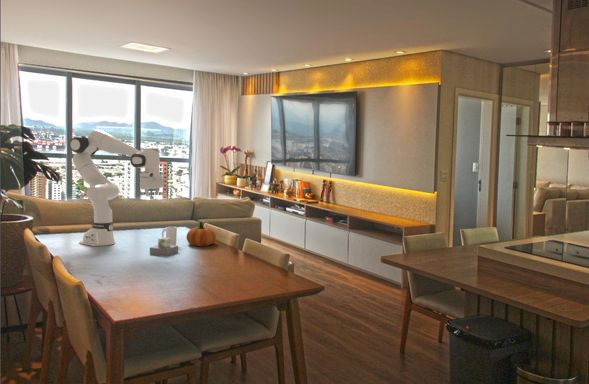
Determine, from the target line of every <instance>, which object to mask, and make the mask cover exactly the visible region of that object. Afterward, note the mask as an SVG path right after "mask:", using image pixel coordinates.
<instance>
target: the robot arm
mask: <svg viewBox="0 0 589 384" xmlns="http://www.w3.org/2000/svg"><path fill="white" fill-rule="evenodd" d="M69 148H70V150H71V152H74V153H75V154H74V155H73V157H72V163H73V165H74V167H75V169H76V171H77V172H78V173H79V175H80V177H81V178H82V180H84V182H85V183H86V184H88V185H90V186H89V187H87V189H86V197H87V199H88V200H89V201H90V202H91V206H92V208H93V222H92V223H90V226H91V228H90V229H89V230H87V231H86V232H85V233H84V234H83V236H82V238H83V239H82V240H80V241H79V242H78V244H80V245H81V244H82V245H87V246H92V247H99V246H111V245H114V244H115V243H116V241H115V237H114V221H113V209H112V208H111V206H110V204H109V202H108V201H111V200H113V199H115V198H116V197H118V196H119V194H120V190H119V186H118V185H116V184H115V183H113V182H111V181H110V180H109V179H108V178H107V177H105V175H104V174H103V173H102V172H101V171H100V170H99V168H98V167H97V165H96V164H95V163H94V160H93V159H92V158H91V157H93V156H95V154H96V153H97V152H98V151H99V150H101V151H103V152H106V153H109V154H116V155H117V154H118V155H126V156H128V157H129V162H130V165H131V166H132V167H133V168H136V169H139V168H140V169H144V171H142V172H140V173H139V177H140V181H139V187H140V189H141V190H144V192H145V196H146V197H150V196H151V195H150V192H149V190H152V189H153V190H154V189H155V192H154V195H155V196H158V195H159V192H160V190H161V189H160V188H163V187H164V178H163V174H162V173H161V172H160V171H161V170H160V164H161V163H160V162H161V161H160V160H161V159H160V151H159V150H158V149H157V148H154V147H146V148H145V149H143V150H142V151H141V150H139V149H137V148H136V147H133V146H131V145H129V144H127V143H125V142H124V141H121V140H120V139H119V138H117V137H115V136H114V135H112V134H110V133H108V132H105V131H104V130H100V129H94V130H92V131H91V132H90V133H89V135H88V136H87V135H81V136H80V135H79V136H74V137H72V138H71V139H70V141H69Z"/></svg>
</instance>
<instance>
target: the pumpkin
mask: <svg viewBox="0 0 589 384" xmlns="http://www.w3.org/2000/svg"><path fill="white" fill-rule="evenodd" d="M216 240H217V234H216V233H215V231H214V230H213V229H212V228H210V227H209V226H208V227H207V226H206V227H205V226H204V225H203V222H202V221H200V222H199V227H198V226H196V227H192V228H191V229H190V230H188V232H187V233H186V241H187V243H188V244H189V245H191V246H196V247H207V246H209V245H213V244H214V243H215V242H216Z"/></svg>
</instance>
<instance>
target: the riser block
mask: <svg viewBox="0 0 589 384" xmlns="http://www.w3.org/2000/svg"><path fill="white" fill-rule="evenodd" d="M178 252H179V246H178V245H177V244H176V245H170V246H169V247H166V248H163V247H158V244H157V245H153V246H150V247H149V255H156V256H164V257H168V256H171V255H174V254H177V253H178Z"/></svg>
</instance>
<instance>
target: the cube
mask: <svg viewBox="0 0 589 384" xmlns="http://www.w3.org/2000/svg"><path fill="white" fill-rule="evenodd" d="M157 245H158V247H163V248H166V247H169V246H170V238H166V237H165V236H164V237H163V238H162V237H160V238H158V239H157Z"/></svg>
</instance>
